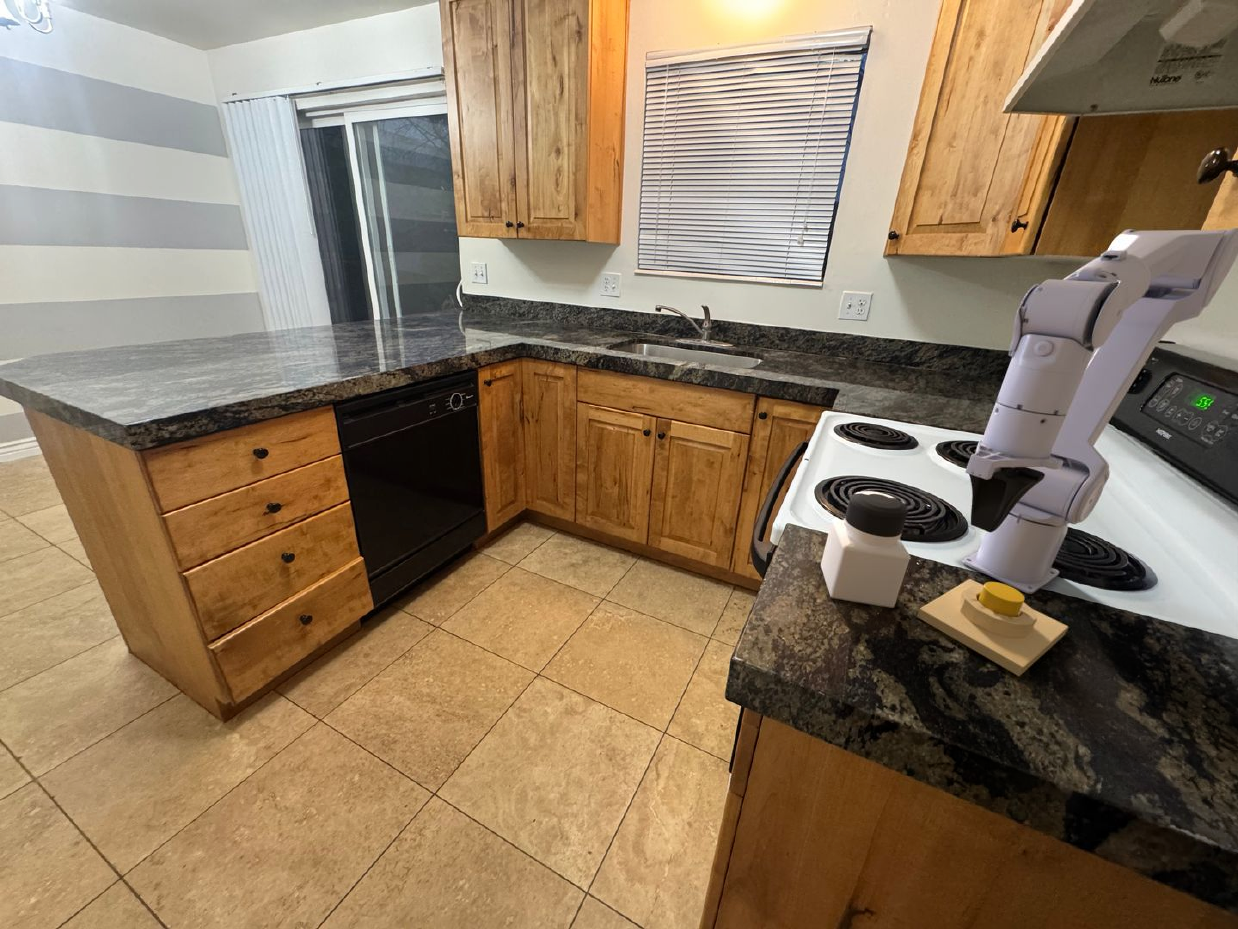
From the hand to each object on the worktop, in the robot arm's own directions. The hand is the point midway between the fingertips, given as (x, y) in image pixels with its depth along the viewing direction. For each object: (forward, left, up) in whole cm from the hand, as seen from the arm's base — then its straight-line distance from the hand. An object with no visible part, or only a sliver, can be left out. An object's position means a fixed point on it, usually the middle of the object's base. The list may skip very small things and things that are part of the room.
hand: (983, 527), depth 55 cm
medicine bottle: (+7, -8, -11) cm, 15 cm away
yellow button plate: (0, +4, -10) cm, 11 cm away
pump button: (0, +4, -8) cm, 9 cm away
